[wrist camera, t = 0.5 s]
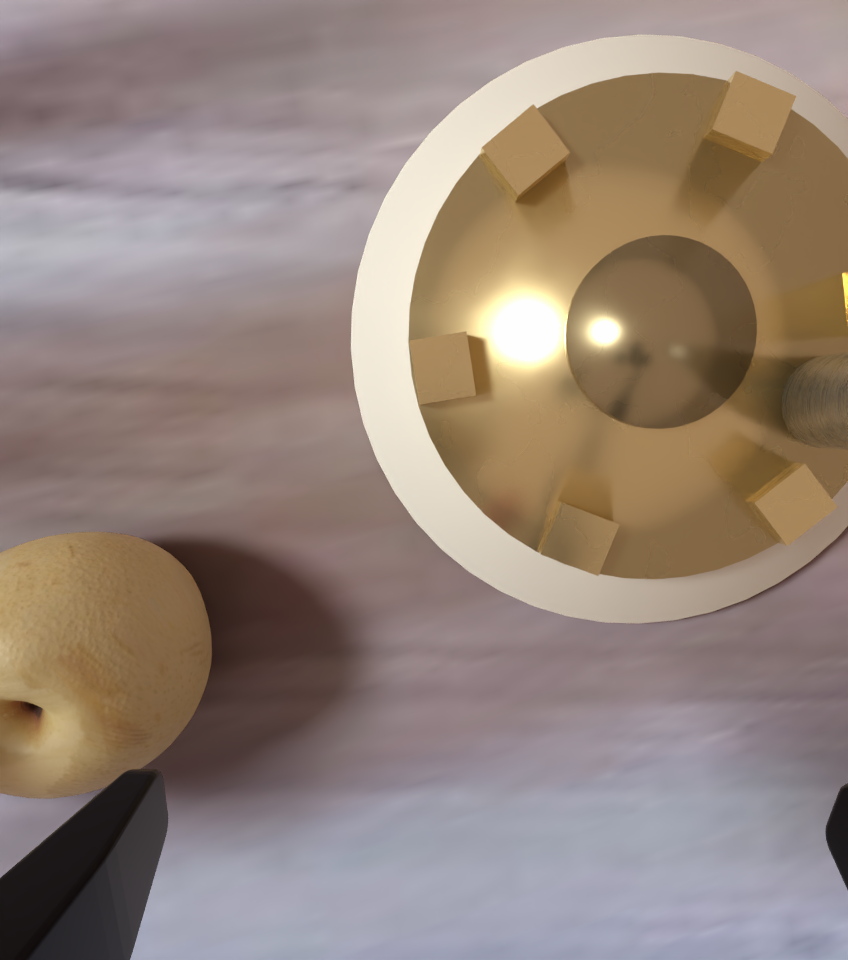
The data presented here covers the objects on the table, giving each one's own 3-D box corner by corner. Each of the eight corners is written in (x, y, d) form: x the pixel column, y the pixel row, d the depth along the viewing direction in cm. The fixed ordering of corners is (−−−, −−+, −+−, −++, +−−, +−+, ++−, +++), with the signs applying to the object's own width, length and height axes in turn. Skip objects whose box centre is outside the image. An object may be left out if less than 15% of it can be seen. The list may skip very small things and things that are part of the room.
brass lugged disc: (897, 532, 22) (1318, 626, 12) (448, 603, 22) (474, 760, 12) (853, 56, 20) (1290, -312, 10) (373, 135, 20) (327, -152, 10)
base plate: (937, 572, 23) (957, 577, 22) (402, 657, 23) (401, 666, 22) (888, 1, 21) (907, -17, 20) (307, 96, 21) (302, 82, 20)
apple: (178, 468, 22) (190, 600, 16) (219, 637, 26) (243, 796, 20) (-84, 516, 19) (-195, 695, 13) (5, 694, 23) (-46, 897, 17)
